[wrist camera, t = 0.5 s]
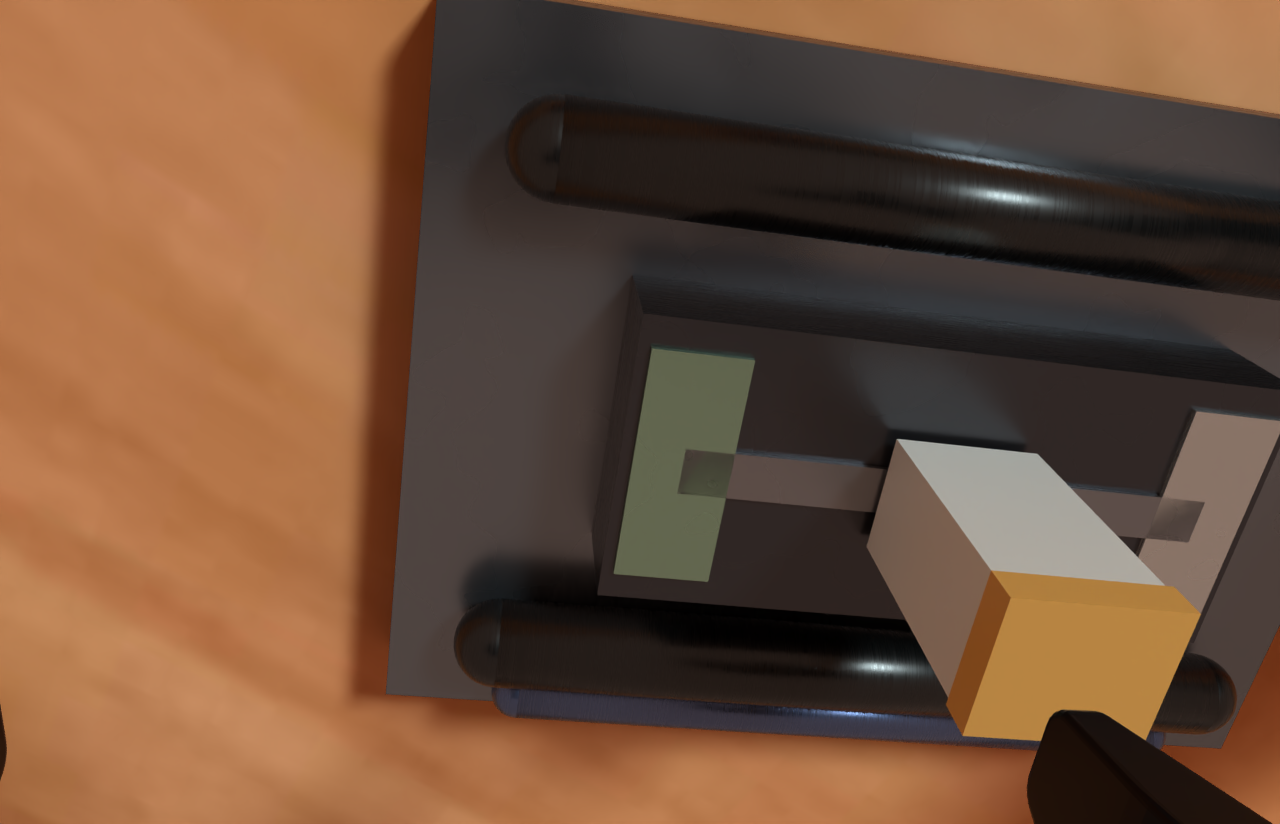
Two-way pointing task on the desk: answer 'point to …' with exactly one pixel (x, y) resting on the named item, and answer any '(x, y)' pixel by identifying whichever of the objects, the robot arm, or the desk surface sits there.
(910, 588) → the lever
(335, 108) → the desk surface
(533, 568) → the panel
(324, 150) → the desk surface
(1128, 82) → the desk surface
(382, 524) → the desk surface
